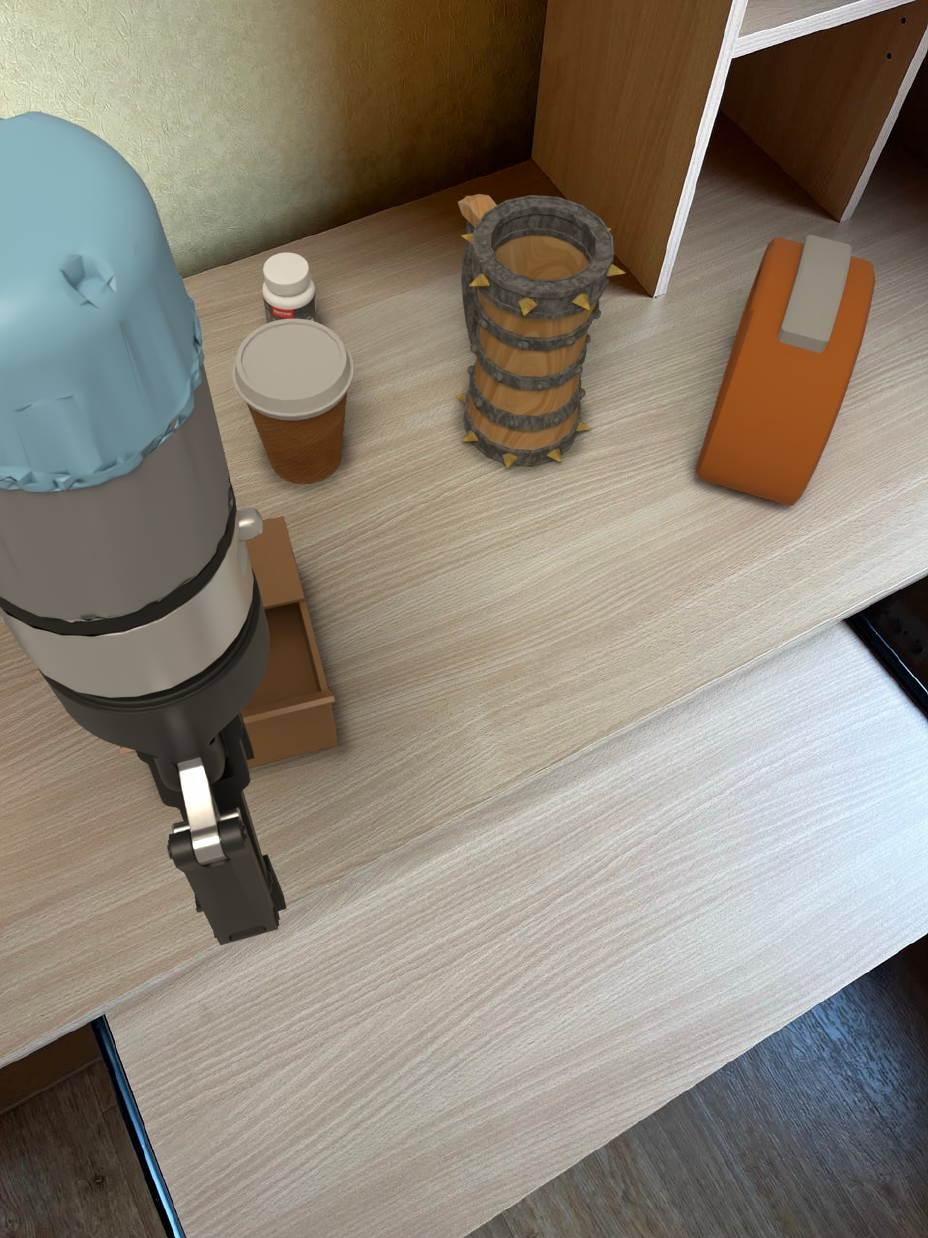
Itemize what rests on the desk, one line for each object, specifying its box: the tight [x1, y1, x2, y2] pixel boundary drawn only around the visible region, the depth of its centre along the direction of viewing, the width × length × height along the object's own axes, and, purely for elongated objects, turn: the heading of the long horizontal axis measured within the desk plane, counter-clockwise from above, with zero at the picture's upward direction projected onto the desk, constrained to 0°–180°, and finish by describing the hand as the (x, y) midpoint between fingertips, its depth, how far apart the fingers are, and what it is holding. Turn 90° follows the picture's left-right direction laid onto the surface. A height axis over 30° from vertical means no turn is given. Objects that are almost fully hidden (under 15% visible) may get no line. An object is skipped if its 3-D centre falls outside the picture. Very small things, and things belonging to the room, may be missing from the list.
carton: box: [243, 515, 339, 769], centre depth 78 cm, size 13×15×9 cm
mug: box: [454, 193, 626, 469], centre depth 88 cm, size 13×17×20 cm
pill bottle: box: [261, 251, 319, 324], centre depth 96 cm, size 5×5×8 cm
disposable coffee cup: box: [231, 319, 355, 485], centre depth 88 cm, size 10×10×12 cm
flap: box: [117, 688, 336, 756], centre depth 67 cm, size 13×7×1 cm
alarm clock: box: [695, 234, 876, 506], centre depth 90 cm, size 23×9×17 cm, turn 161°
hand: (242, 830), depth 54 cm, fingers open, 8 cm apart
